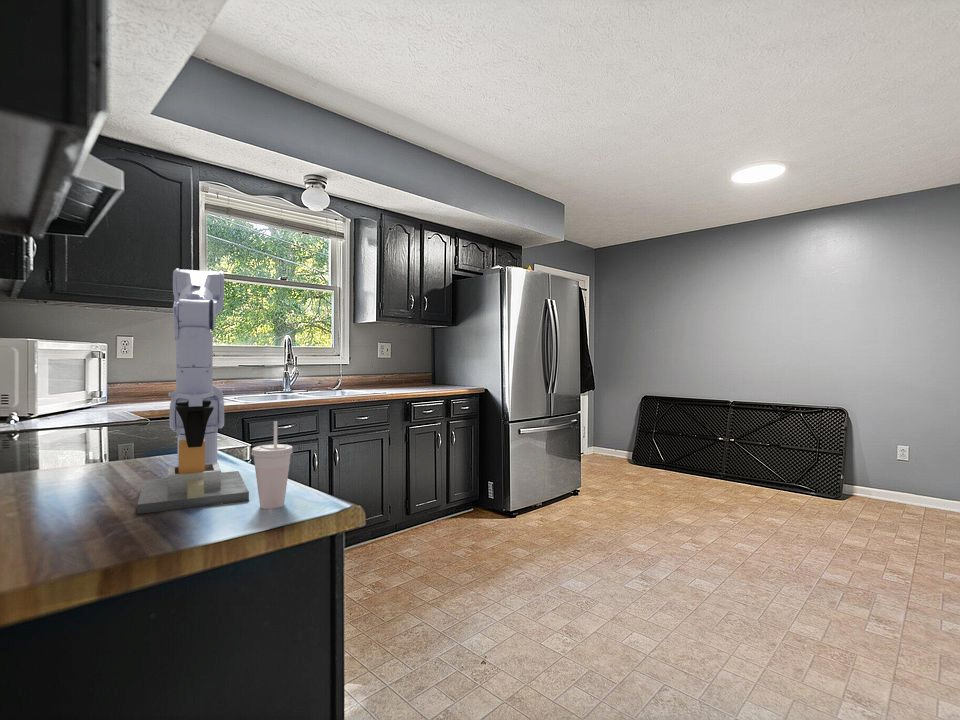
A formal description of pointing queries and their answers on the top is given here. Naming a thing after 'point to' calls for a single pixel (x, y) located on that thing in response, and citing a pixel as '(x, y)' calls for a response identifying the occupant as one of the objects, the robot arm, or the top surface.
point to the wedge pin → (191, 458)
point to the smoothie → (272, 472)
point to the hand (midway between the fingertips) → (194, 443)
